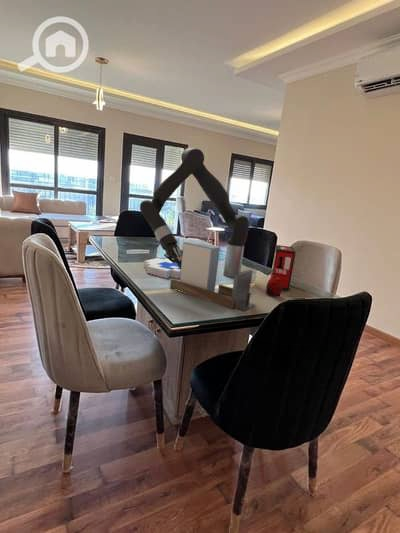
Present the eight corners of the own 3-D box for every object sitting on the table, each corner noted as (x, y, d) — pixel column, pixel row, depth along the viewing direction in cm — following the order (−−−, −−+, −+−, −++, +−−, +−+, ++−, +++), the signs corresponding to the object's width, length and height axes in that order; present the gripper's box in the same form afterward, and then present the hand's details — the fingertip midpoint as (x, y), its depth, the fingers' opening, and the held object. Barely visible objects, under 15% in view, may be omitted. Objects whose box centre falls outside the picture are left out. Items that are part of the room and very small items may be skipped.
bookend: (244, 301, 134) (249, 269, 131) (256, 304, 131) (261, 272, 128) (229, 308, 124) (234, 274, 120) (242, 312, 121) (247, 277, 118)
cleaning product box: (269, 280, 174) (275, 244, 170) (286, 283, 172) (292, 247, 168) (270, 288, 158) (276, 249, 154) (288, 291, 157) (295, 252, 152)
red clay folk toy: (283, 297, 146) (289, 265, 143) (272, 298, 143) (278, 266, 139) (272, 292, 153) (277, 261, 149) (261, 293, 149) (266, 262, 146)
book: (186, 285, 147) (191, 241, 142) (214, 294, 139) (220, 247, 134) (178, 288, 142) (183, 242, 137) (206, 297, 134) (212, 248, 129)
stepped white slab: (206, 265, 176) (180, 274, 152) (206, 272, 177) (180, 282, 153) (165, 256, 188) (134, 263, 164) (164, 262, 189) (134, 270, 165)
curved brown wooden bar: (186, 283, 151) (187, 275, 150) (249, 302, 134) (250, 293, 133) (170, 288, 141) (170, 279, 140) (235, 309, 123) (237, 299, 122)
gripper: (161, 233, 139) (180, 266, 136) (179, 232, 150) (197, 263, 147) (151, 243, 143) (169, 275, 140) (169, 241, 154) (187, 271, 151)
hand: (183, 269), depth 143 cm, fingers closed
